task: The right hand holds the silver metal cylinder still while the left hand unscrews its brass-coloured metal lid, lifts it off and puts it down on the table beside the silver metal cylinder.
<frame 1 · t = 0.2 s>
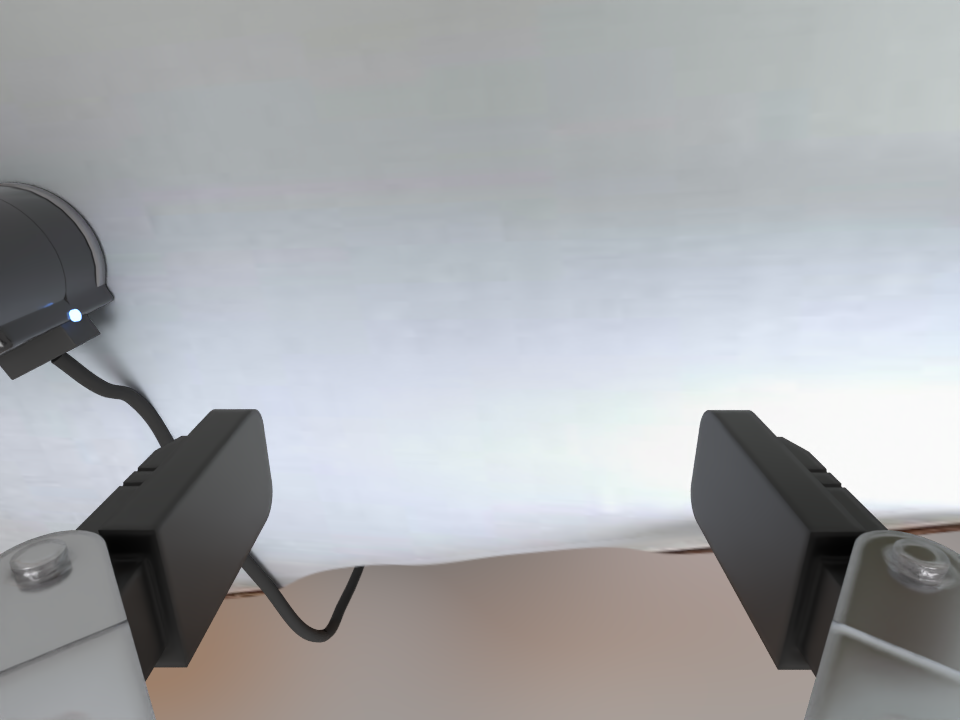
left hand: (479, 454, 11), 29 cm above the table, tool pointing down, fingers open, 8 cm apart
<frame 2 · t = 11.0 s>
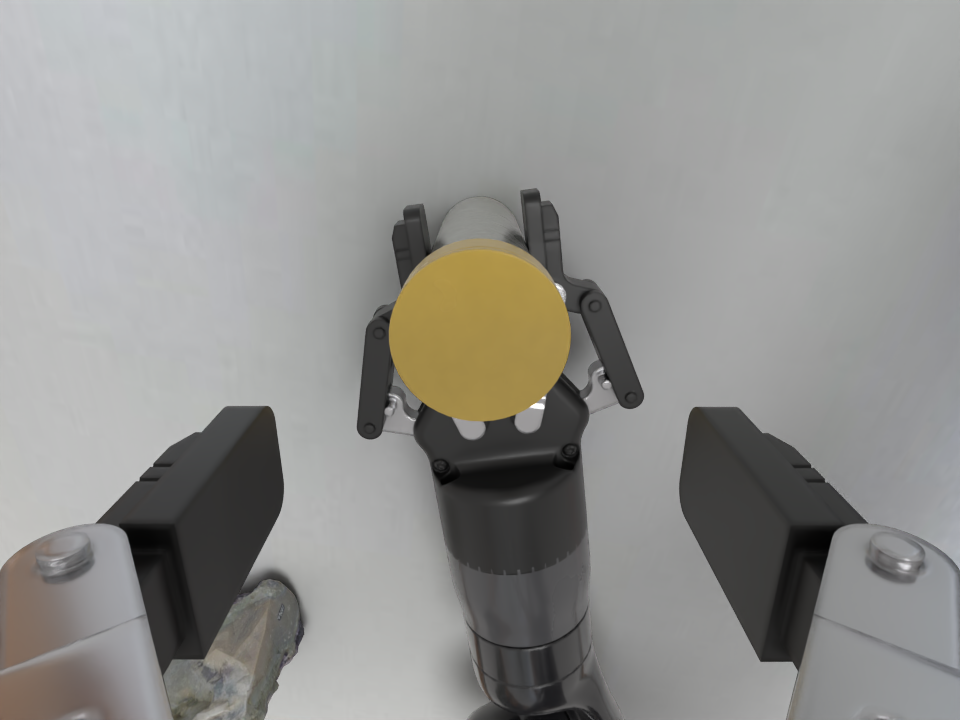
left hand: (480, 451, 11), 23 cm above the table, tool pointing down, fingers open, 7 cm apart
mineral rock: (215, 616, 42), on the table
lid: (479, 336, 17), point 17 cm above the table, screwed on, not yet turned
silver metal cylinder: (479, 237, 33), on the table, touching right hand
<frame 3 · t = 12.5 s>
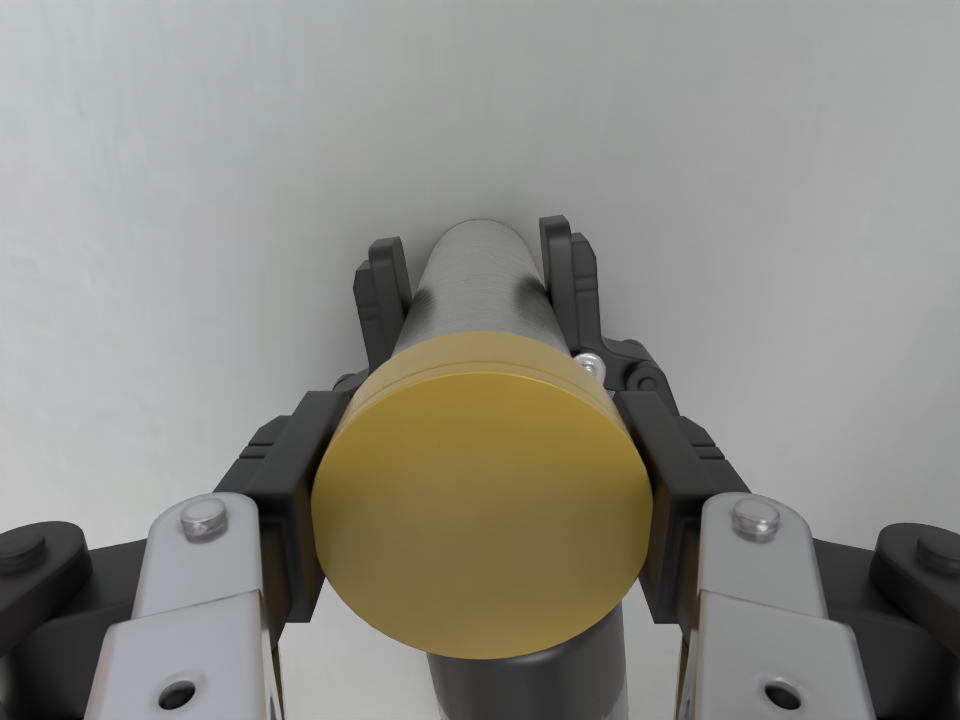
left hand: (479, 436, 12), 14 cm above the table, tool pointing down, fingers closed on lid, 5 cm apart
lid: (481, 516, 9), point 17 cm above the table, screwed on, not yet turned, touching left hand
silver metal cylinder: (480, 272, 25), on the table, touching right hand
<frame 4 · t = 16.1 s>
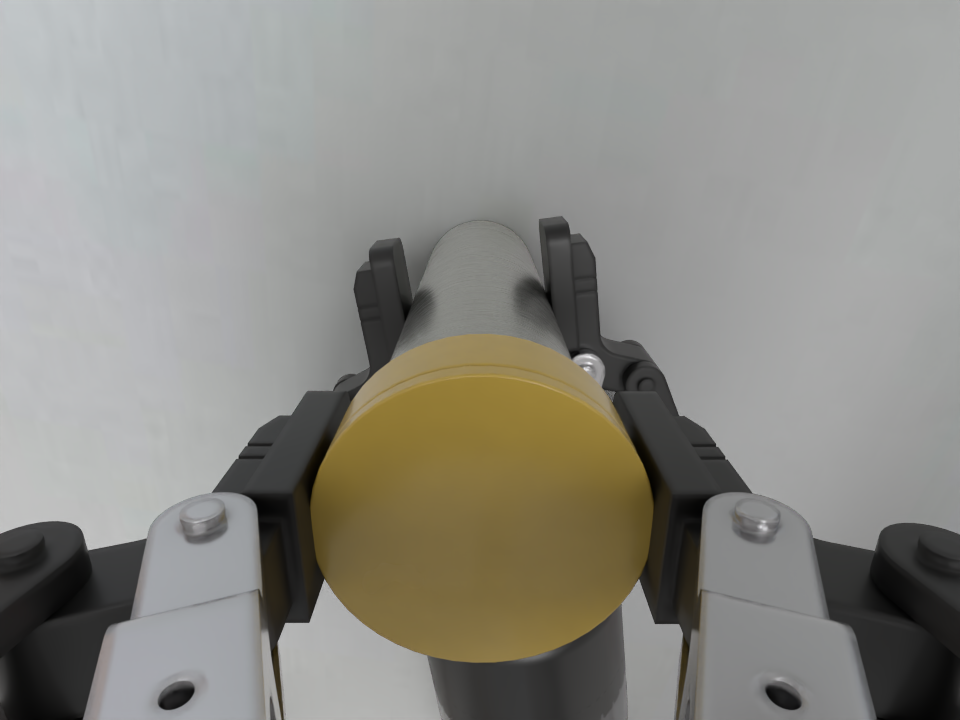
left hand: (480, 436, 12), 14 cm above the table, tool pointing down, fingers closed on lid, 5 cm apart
lid: (481, 519, 9), point 17 cm above the table, turned 86° so far, risen 0.1 cm, still on its thread, touching left hand
silver metal cylinder: (480, 273, 25), on the table, touching right hand
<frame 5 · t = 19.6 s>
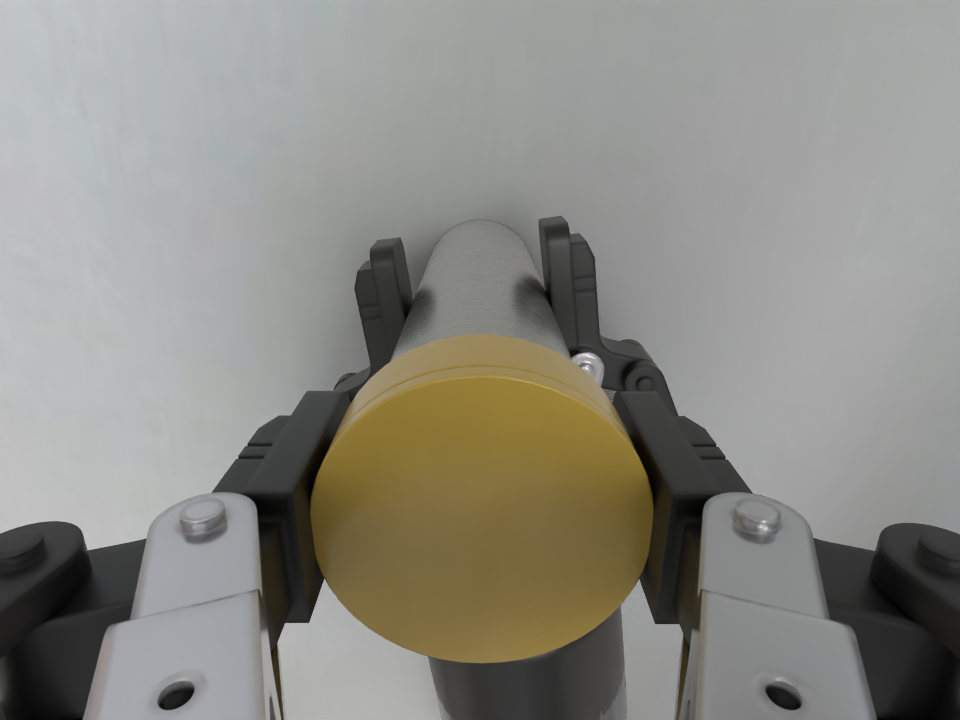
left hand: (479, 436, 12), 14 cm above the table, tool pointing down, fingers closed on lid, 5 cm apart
lid: (481, 520, 9), point 17 cm above the table, turned 171° so far, risen 0.2 cm, still on its thread, touching left hand
silver metal cylinder: (480, 273, 25), on the table, touching right hand
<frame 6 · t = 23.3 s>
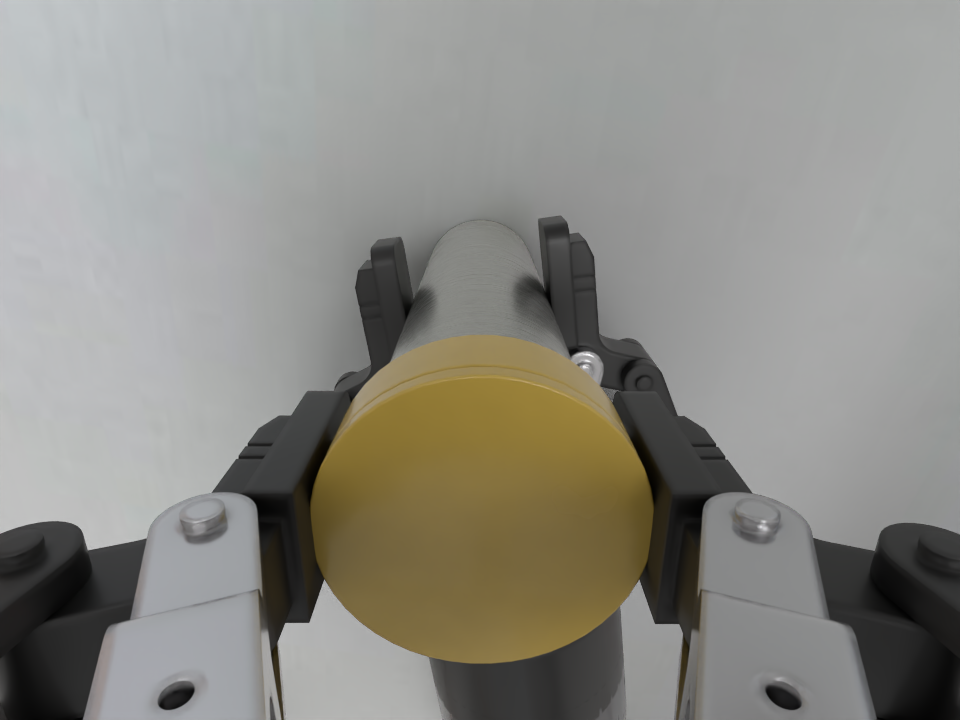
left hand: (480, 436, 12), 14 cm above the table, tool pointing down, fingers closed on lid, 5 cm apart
lid: (481, 520, 9), point 17 cm above the table, turned 257° so far, risen 0.3 cm, still on its thread, touching left hand
silver metal cylinder: (480, 272, 25), on the table, touching right hand
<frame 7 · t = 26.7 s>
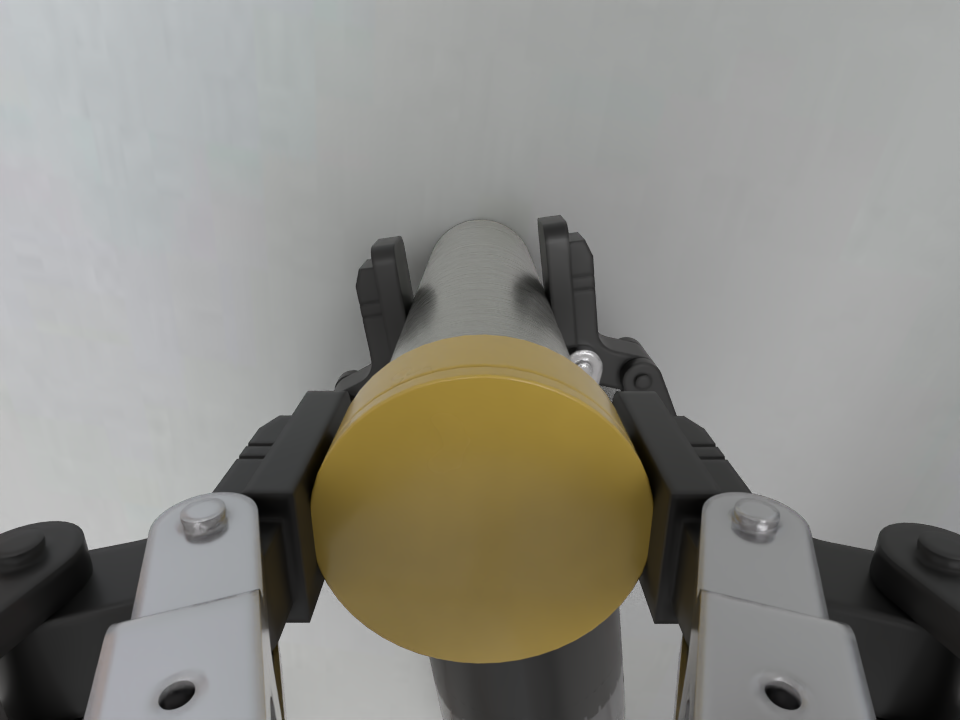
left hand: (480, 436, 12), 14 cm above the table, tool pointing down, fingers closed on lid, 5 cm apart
lid: (481, 520, 9), point 17 cm above the table, turned 342° so far, risen 0.5 cm, still on its thread, touching left hand
silver metal cylinder: (480, 271, 25), on the table, touching right hand
when the left hand's fingers open (0 cm above the table, at t = 38.2 s): lid drops 2 cm, point 1 cm above the table.
when the right hand's fingers open (7 cm above the table, at t = 39.2 s): silver metal cylinder stays where it is, on the table.
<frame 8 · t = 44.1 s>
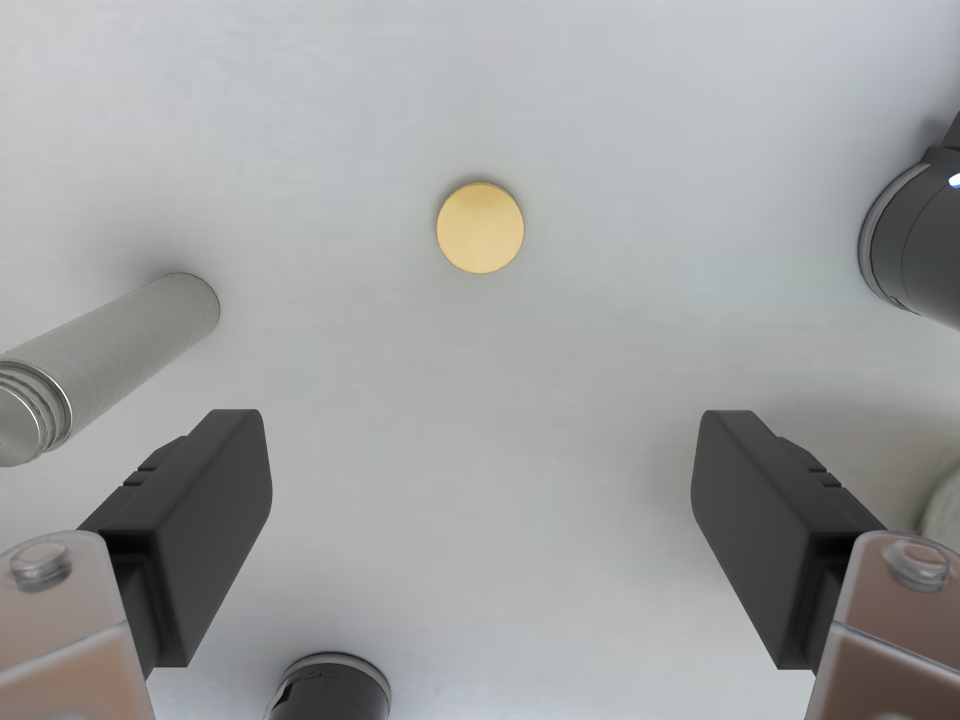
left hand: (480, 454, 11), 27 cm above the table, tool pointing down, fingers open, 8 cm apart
lid: (480, 229, 35), point 1 cm above the table, off its thread
silver metal cylinder: (185, 306, 39), on the table
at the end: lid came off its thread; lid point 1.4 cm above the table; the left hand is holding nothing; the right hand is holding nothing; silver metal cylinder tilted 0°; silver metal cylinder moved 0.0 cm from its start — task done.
